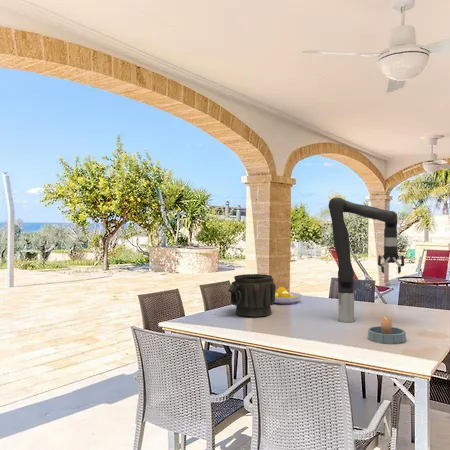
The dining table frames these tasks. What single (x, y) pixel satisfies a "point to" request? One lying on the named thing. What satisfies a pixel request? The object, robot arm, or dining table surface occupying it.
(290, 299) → the fruit bowl
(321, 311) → the dining table surface
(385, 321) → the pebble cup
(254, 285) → the vessel
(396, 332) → the bowl
